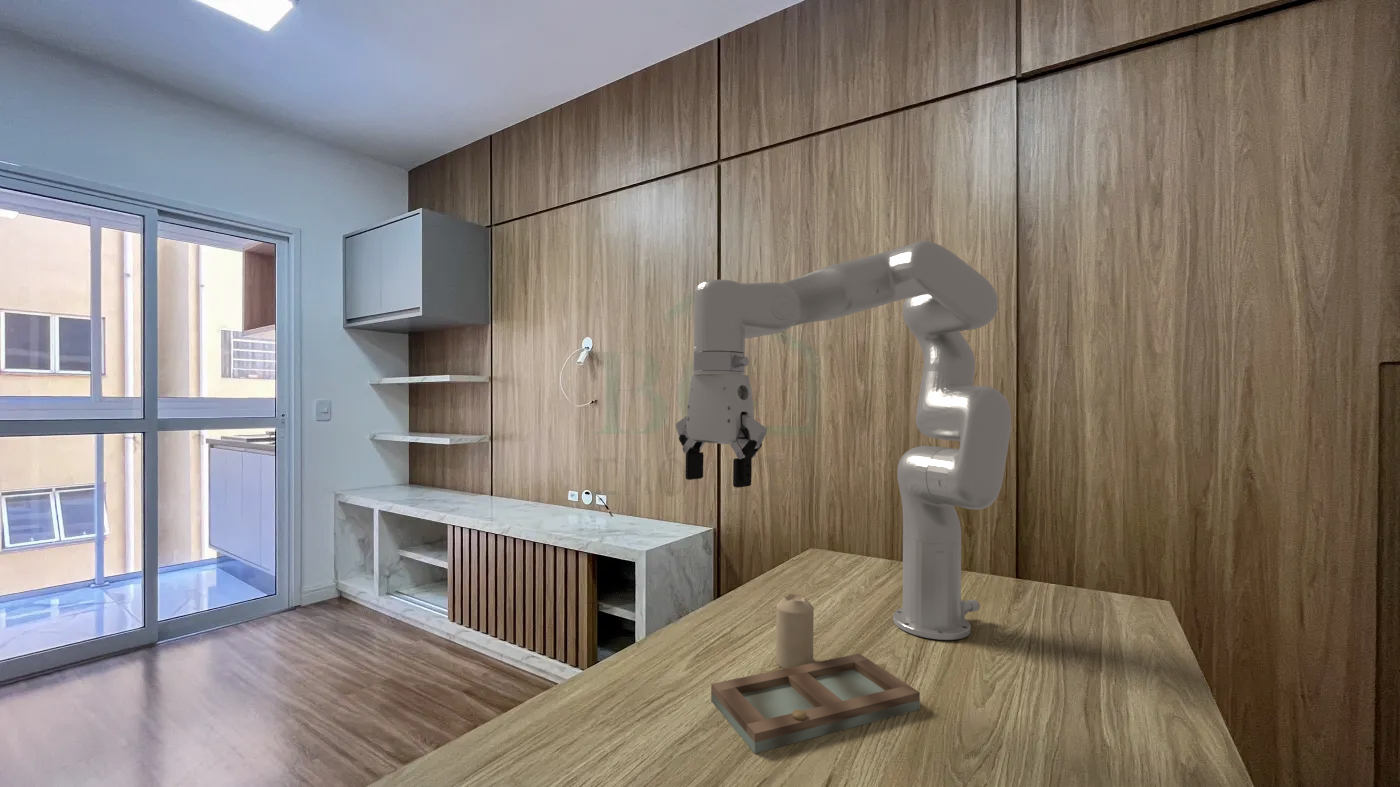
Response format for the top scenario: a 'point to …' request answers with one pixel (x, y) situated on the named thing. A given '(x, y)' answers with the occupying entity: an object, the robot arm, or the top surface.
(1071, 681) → the top surface
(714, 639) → the top surface
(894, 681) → the divided tray
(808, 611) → the candle
